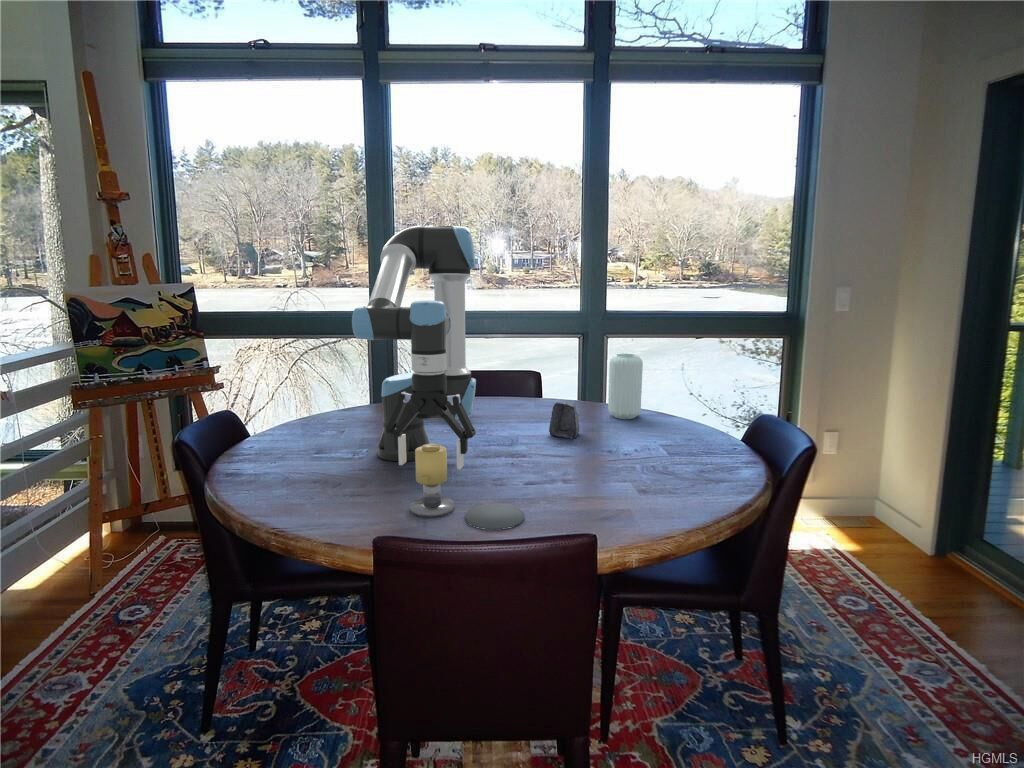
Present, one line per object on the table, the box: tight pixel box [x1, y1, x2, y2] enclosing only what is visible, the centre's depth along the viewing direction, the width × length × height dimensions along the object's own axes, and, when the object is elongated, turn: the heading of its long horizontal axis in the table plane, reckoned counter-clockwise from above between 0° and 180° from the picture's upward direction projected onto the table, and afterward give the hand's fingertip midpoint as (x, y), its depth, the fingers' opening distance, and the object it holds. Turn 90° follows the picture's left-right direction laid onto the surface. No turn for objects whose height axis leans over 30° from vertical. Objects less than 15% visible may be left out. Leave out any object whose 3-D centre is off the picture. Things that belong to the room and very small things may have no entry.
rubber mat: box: [464, 502, 525, 530], centre depth 144 cm, size 13×13×1 cm
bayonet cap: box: [414, 443, 448, 485], centre depth 146 cm, size 7×9×8 cm
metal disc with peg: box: [409, 483, 455, 519], centre depth 148 cm, size 10×10×7 cm
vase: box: [607, 352, 644, 420], centre depth 231 cm, size 12×12×22 cm
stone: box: [548, 401, 580, 439], centre depth 209 cm, size 12×10×10 cm
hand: (431, 465), depth 146 cm, fingers open, 13 cm apart
